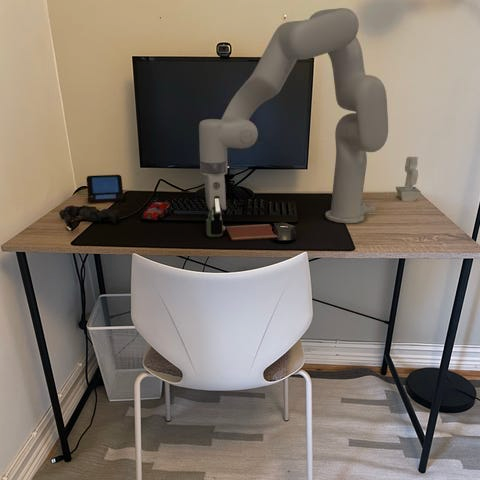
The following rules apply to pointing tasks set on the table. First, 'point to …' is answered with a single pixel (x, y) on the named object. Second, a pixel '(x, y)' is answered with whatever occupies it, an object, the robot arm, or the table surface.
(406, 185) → the figurine
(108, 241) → the table surface
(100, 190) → the handheld game console
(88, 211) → the robot figurine
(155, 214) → the race car
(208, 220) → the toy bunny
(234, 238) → the reddish brown flat tray
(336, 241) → the table surface
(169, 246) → the table surface
